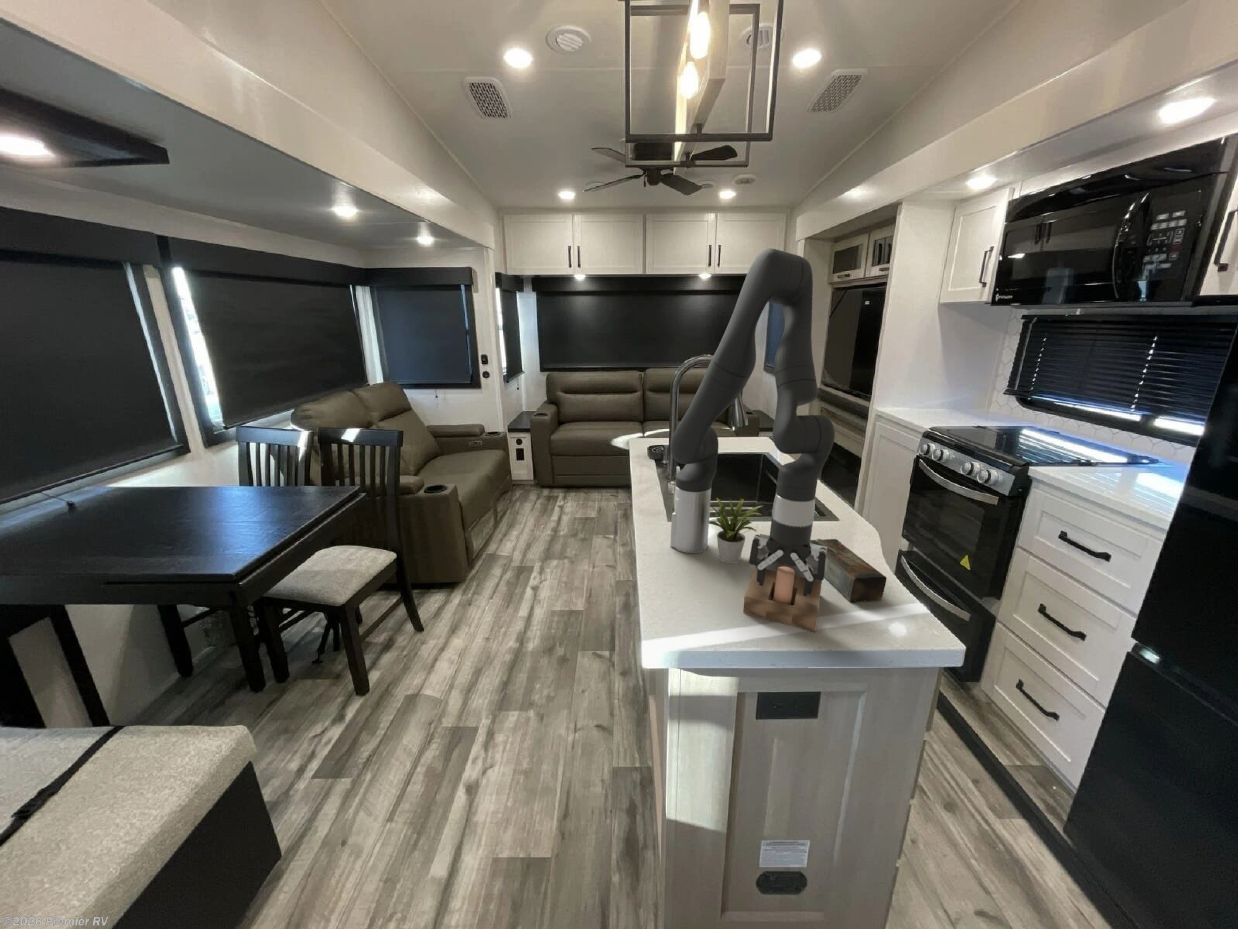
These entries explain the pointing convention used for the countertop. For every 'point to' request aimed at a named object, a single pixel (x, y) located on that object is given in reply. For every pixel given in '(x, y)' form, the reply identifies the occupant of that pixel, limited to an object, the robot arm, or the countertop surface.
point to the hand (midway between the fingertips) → (783, 588)
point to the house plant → (732, 531)
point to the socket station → (797, 615)
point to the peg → (784, 585)
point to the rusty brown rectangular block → (851, 573)
